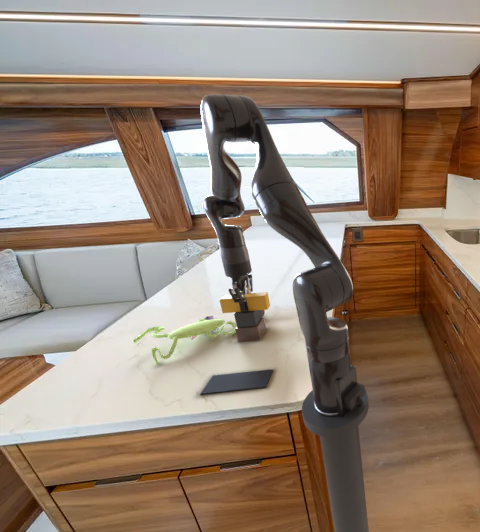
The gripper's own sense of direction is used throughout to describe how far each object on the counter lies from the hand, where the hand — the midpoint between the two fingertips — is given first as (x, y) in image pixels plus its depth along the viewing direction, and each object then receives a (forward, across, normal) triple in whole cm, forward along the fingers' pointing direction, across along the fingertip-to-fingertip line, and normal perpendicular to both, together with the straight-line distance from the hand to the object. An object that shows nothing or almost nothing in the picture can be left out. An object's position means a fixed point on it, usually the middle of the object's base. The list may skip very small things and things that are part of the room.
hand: (246, 308), depth 98 cm
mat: (+10, -24, -4) cm, 26 cm away
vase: (+10, +12, +3) cm, 16 cm away
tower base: (+10, 0, 0) cm, 10 cm away
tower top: (+5, 0, 0) cm, 5 cm away
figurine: (+10, 0, +21) cm, 23 cm away
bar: (0, 0, 0) cm, 0 cm away
